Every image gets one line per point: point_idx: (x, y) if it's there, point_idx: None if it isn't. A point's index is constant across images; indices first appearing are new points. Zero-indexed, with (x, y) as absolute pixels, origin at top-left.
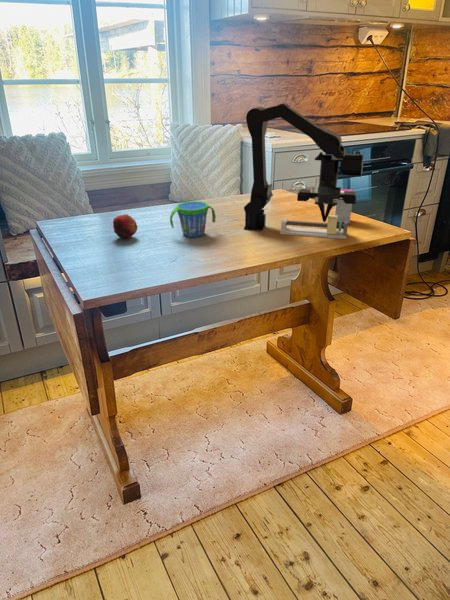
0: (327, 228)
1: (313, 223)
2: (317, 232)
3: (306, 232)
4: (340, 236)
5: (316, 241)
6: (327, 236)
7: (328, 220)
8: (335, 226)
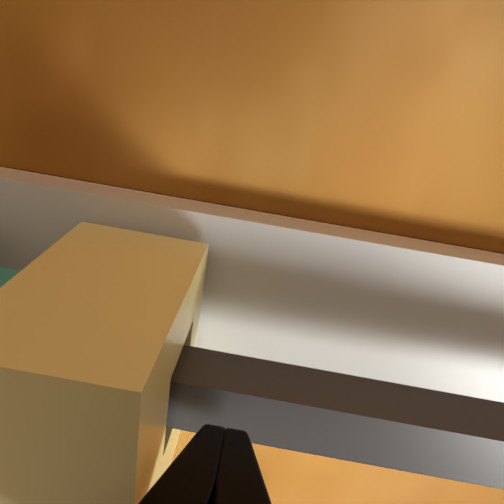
0: (183, 279)
1: (413, 423)
2: (325, 315)
3: (482, 313)
4: (18, 178)
5: (380, 22)
6: (198, 205)
7: (135, 366)
8: (32, 275)
